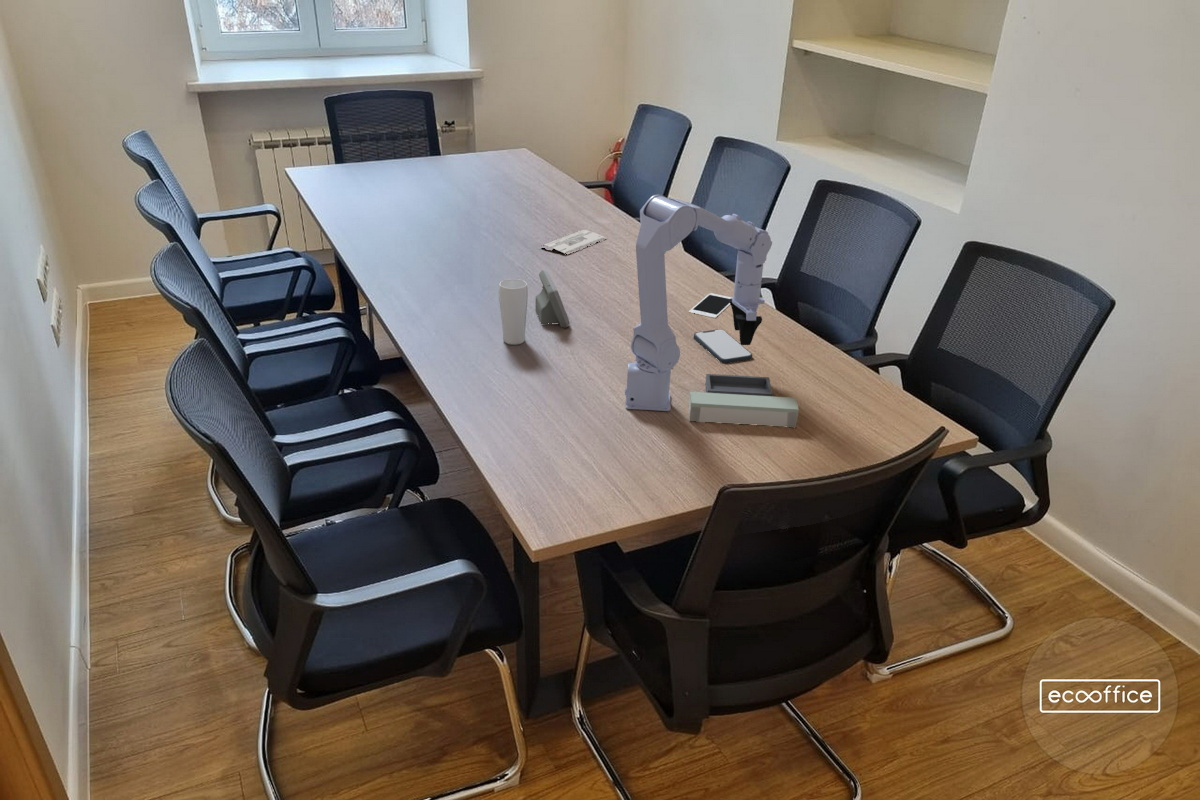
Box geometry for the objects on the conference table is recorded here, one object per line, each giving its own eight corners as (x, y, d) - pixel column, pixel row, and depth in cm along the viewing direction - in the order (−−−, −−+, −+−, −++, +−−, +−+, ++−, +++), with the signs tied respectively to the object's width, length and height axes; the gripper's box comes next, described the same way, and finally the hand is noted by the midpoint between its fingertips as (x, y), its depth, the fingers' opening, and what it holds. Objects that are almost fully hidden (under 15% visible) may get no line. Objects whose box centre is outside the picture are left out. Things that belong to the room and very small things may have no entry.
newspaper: (577, 233, 291) (577, 226, 290) (606, 244, 286) (607, 237, 285) (533, 249, 275) (534, 242, 274) (563, 262, 269) (564, 254, 268)
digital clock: (569, 330, 220) (570, 291, 215) (533, 330, 220) (533, 290, 215) (569, 305, 235) (570, 268, 229) (536, 305, 234) (536, 267, 229)
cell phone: (687, 313, 233) (688, 311, 233) (709, 294, 246) (710, 292, 246) (715, 319, 230) (715, 317, 230) (736, 300, 243) (736, 298, 242)
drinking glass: (516, 333, 218) (515, 276, 210) (533, 341, 213) (533, 284, 206) (494, 340, 213) (492, 282, 206) (512, 349, 209) (511, 291, 202)
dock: (689, 421, 182) (691, 403, 179) (688, 406, 187) (690, 388, 185) (795, 427, 181) (798, 409, 179) (791, 412, 186) (794, 394, 184)
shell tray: (706, 400, 190) (707, 390, 188) (705, 384, 197) (706, 373, 195) (771, 404, 189) (772, 394, 188) (767, 387, 196) (769, 377, 195)
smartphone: (754, 361, 209) (722, 333, 222) (755, 355, 209) (722, 328, 221) (721, 366, 206) (691, 338, 219) (722, 360, 206) (691, 332, 218)
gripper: (773, 293, 184) (766, 351, 191) (760, 268, 197) (753, 323, 203) (740, 293, 184) (734, 351, 190) (728, 268, 196) (723, 323, 203)
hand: (742, 337), depth 197 cm, fingers open, 7 cm apart
